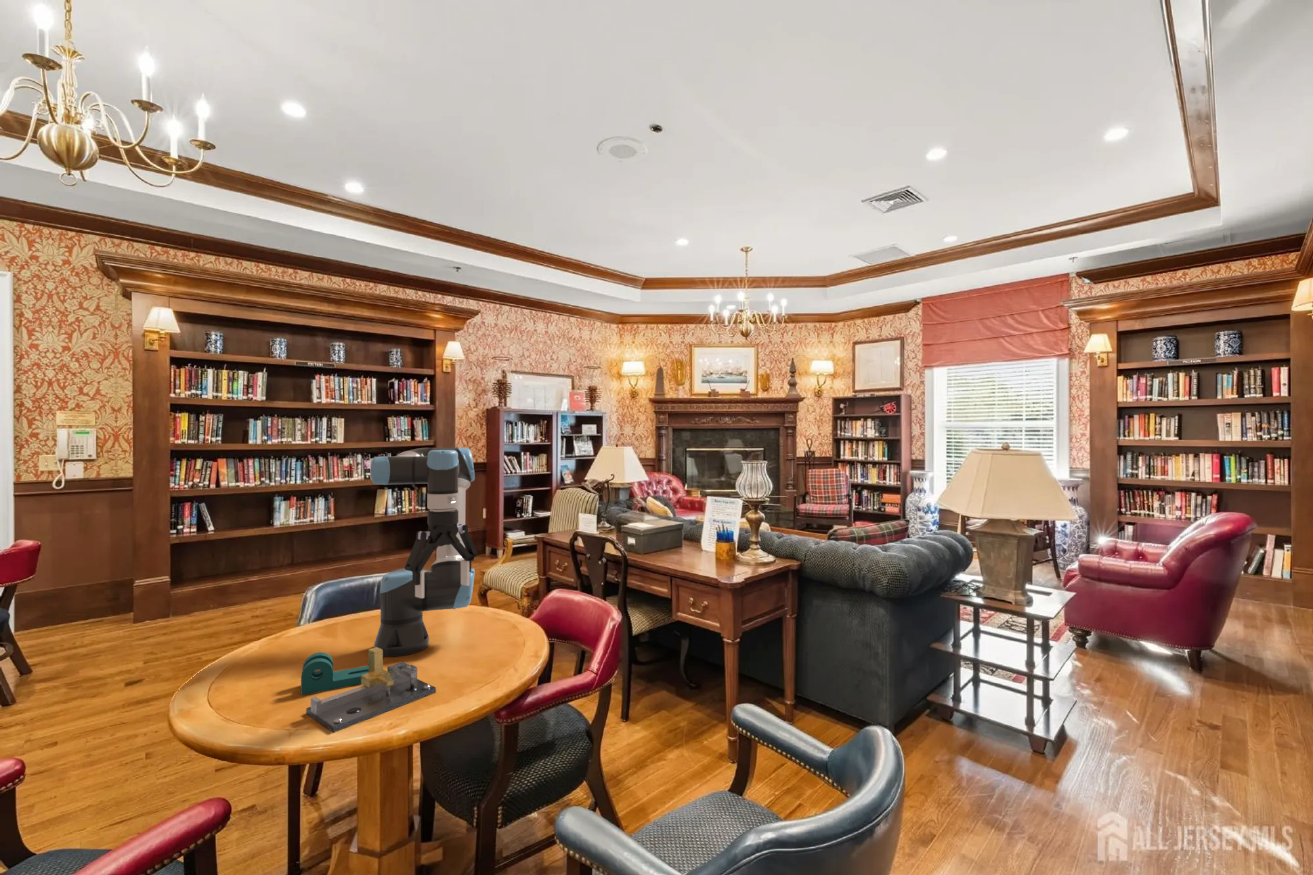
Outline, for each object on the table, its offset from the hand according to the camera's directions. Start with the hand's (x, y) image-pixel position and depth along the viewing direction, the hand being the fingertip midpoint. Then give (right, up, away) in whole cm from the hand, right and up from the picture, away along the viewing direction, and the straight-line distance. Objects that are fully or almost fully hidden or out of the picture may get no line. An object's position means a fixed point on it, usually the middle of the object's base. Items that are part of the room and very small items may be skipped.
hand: (443, 590), depth 148 cm
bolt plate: (-12, -23, -12) cm, 29 cm away
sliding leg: (-11, -22, -10) cm, 27 cm away
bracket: (-26, -24, -1) cm, 35 cm away
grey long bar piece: (-13, -22, -12) cm, 28 cm away
